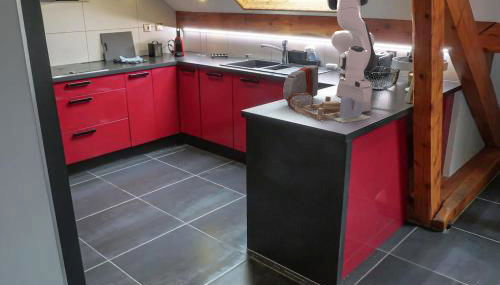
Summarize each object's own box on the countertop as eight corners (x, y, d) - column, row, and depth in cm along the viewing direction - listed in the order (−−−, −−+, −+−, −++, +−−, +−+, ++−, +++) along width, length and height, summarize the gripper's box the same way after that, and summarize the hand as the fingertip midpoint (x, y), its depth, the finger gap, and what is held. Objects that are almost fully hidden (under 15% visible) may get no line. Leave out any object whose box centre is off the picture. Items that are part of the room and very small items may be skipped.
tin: (311, 106, 237) (312, 91, 234) (313, 107, 234) (314, 92, 231) (286, 108, 232) (287, 93, 229) (289, 109, 229) (289, 94, 227)
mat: (360, 115, 221) (361, 114, 220) (370, 118, 215) (370, 117, 215) (332, 119, 212) (332, 118, 211) (342, 123, 206) (342, 122, 206)
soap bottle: (359, 112, 225) (363, 77, 219) (347, 109, 232) (350, 74, 225) (370, 110, 230) (374, 75, 224) (357, 107, 236) (361, 73, 230)
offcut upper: (321, 107, 225) (321, 101, 224) (337, 106, 226) (338, 101, 225) (323, 109, 221) (324, 103, 220) (340, 108, 222) (340, 103, 222)
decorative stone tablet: (310, 63, 253) (281, 74, 232) (320, 64, 249) (291, 76, 228) (310, 95, 260) (281, 108, 239) (319, 96, 256) (291, 110, 235)
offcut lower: (323, 110, 230) (323, 105, 229) (342, 114, 224) (342, 108, 223) (319, 112, 226) (319, 107, 225) (338, 116, 220) (339, 110, 219)
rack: (327, 106, 237) (328, 96, 235) (353, 115, 220) (354, 104, 218) (294, 111, 226) (295, 100, 224) (319, 121, 209) (320, 109, 207)
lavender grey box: (339, 117, 211) (341, 97, 208) (357, 114, 216) (359, 95, 213) (343, 118, 208) (345, 98, 205) (361, 115, 214) (363, 96, 211)
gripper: (334, 77, 214) (332, 104, 218) (364, 85, 197) (361, 113, 201) (344, 76, 217) (342, 103, 221) (373, 83, 200) (370, 112, 204)
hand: (351, 108), depth 211 cm, fingers open, 3 cm apart
